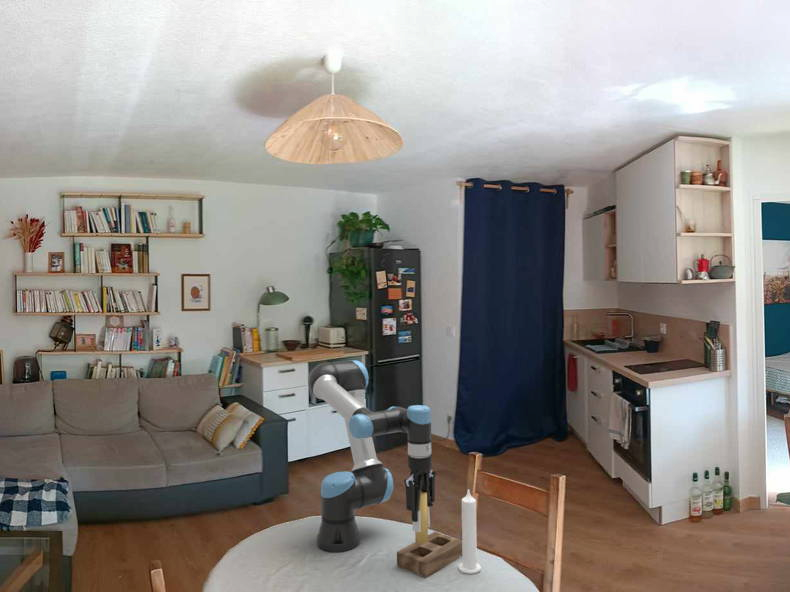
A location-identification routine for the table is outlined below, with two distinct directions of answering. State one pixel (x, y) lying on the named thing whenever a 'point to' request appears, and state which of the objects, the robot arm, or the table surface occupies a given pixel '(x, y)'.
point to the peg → (423, 519)
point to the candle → (469, 536)
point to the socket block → (429, 554)
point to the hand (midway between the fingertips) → (421, 528)
